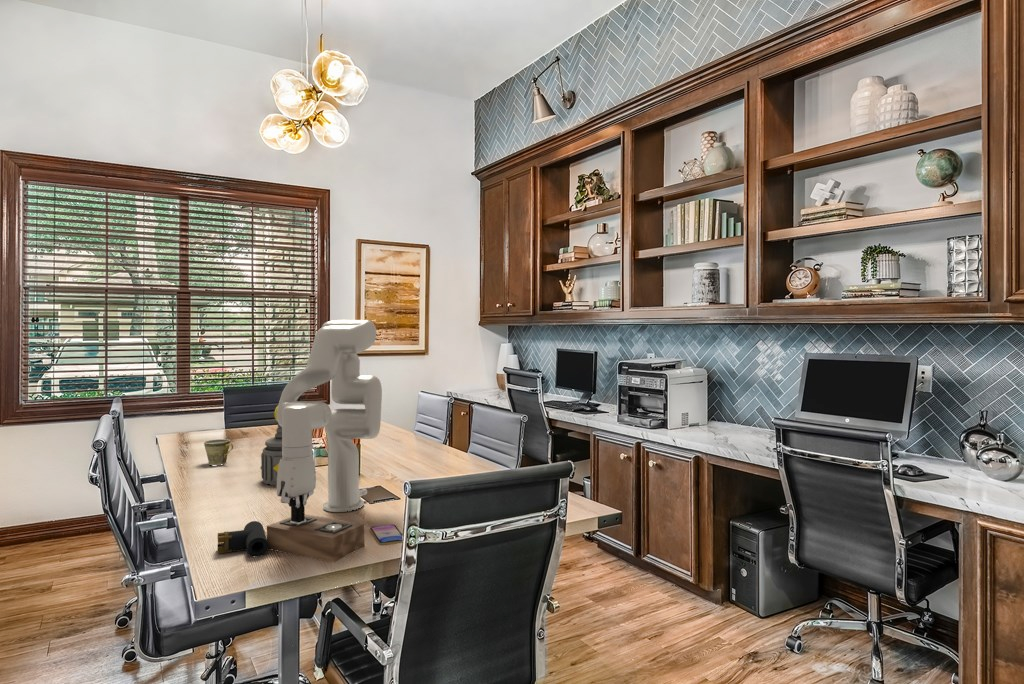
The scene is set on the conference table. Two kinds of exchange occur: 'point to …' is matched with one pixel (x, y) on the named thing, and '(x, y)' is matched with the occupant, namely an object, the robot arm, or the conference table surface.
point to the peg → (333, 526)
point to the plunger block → (316, 538)
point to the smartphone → (386, 534)
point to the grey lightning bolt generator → (272, 456)
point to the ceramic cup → (217, 451)
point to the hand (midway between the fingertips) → (297, 520)
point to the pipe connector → (244, 540)
